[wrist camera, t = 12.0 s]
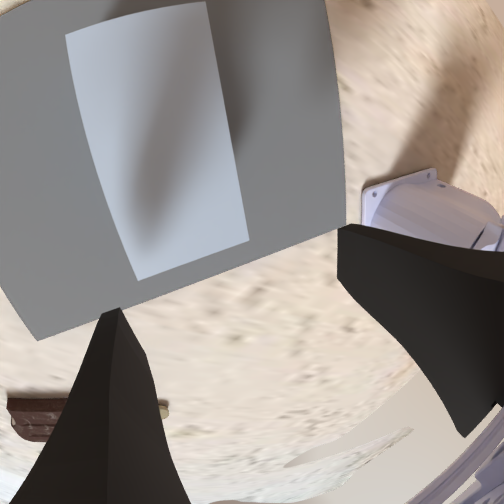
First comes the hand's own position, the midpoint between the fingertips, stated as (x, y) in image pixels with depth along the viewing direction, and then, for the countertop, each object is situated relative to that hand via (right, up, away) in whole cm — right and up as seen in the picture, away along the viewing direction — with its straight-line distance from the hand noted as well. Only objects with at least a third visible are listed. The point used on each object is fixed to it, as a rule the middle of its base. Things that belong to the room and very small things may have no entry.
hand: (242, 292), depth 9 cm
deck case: (-4, +7, +4) cm, 9 cm away
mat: (-5, +7, +4) cm, 10 cm away
